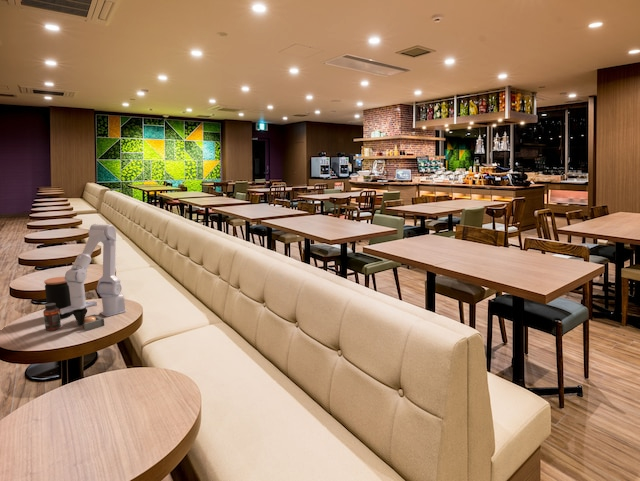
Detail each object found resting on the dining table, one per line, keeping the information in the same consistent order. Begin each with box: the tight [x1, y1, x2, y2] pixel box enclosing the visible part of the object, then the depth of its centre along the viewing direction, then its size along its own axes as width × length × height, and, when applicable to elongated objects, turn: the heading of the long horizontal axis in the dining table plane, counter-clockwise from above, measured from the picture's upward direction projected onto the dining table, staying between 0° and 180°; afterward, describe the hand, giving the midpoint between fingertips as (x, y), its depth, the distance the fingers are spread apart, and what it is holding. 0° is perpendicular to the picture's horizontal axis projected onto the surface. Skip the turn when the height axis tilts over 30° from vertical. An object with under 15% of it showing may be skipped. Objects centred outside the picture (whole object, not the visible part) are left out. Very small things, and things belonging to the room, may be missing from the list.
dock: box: [75, 314, 105, 331], centre depth 190 cm, size 8×9×3 cm
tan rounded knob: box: [82, 315, 96, 326], centre depth 189 cm, size 5×5×4 cm
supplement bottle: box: [42, 303, 62, 332], centre depth 185 cm, size 6×6×11 cm
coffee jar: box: [43, 276, 73, 320], centre depth 201 cm, size 11×11×18 cm
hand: (80, 325), depth 187 cm, fingers closed
